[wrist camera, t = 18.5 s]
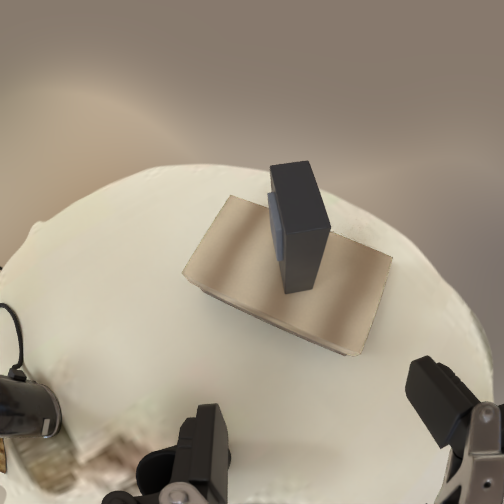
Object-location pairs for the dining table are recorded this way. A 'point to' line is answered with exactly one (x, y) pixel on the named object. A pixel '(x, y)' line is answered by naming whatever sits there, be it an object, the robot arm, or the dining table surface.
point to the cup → (157, 470)
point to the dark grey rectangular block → (297, 224)
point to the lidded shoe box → (271, 286)
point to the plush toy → (2, 457)
